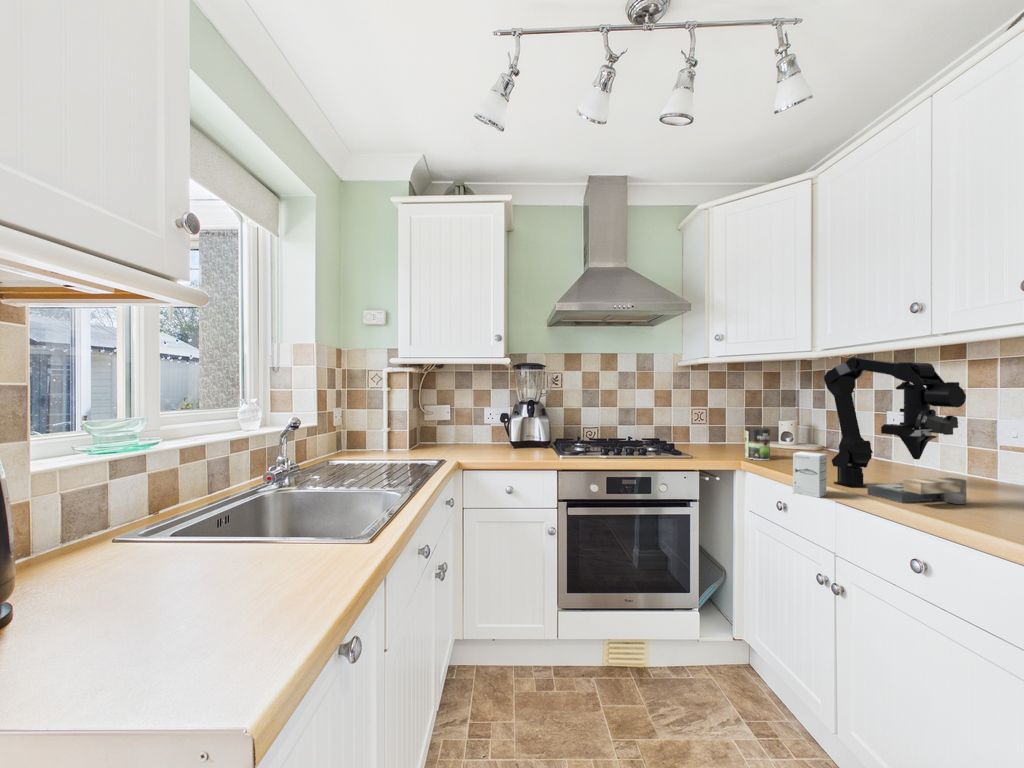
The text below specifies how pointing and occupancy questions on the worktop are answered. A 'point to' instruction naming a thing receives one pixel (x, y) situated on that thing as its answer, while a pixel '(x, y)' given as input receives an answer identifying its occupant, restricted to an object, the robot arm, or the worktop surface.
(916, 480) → the notched beige block
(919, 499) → the slab
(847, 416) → the robot arm
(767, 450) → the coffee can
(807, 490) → the supplement box
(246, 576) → the worktop surface
